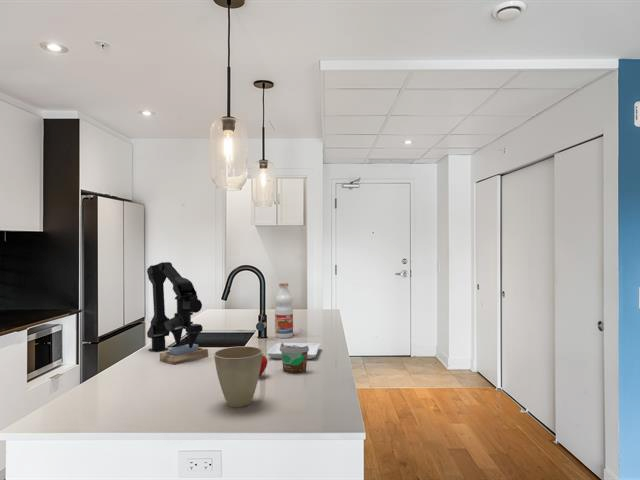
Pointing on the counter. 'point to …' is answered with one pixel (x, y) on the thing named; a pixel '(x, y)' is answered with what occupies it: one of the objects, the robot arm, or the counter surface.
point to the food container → (294, 358)
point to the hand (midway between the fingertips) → (184, 346)
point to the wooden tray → (183, 356)
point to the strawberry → (263, 364)
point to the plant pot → (238, 373)
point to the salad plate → (277, 353)
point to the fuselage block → (183, 349)
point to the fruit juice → (283, 313)
